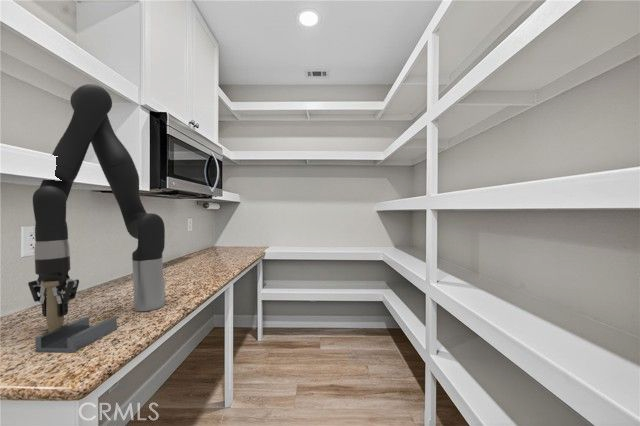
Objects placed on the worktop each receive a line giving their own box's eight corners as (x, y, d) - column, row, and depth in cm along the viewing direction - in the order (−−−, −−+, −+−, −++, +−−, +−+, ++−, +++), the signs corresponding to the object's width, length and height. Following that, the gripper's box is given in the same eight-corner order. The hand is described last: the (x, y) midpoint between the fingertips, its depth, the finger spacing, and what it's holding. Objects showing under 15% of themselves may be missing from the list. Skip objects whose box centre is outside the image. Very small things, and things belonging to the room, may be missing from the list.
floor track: (84, 329, 87) (84, 317, 87) (116, 329, 87) (116, 317, 87) (35, 352, 74) (35, 337, 73) (73, 352, 73) (72, 338, 73)
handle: (69, 326, 90) (67, 276, 90) (63, 333, 84) (61, 280, 84) (48, 329, 88) (46, 278, 87) (41, 337, 82) (38, 283, 82)
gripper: (87, 253, 89) (89, 311, 89) (43, 254, 90) (45, 311, 90) (63, 258, 81) (66, 320, 82) (15, 258, 83) (18, 320, 83)
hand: (55, 315), depth 86 cm, fingers closed on handle, 4 cm apart
